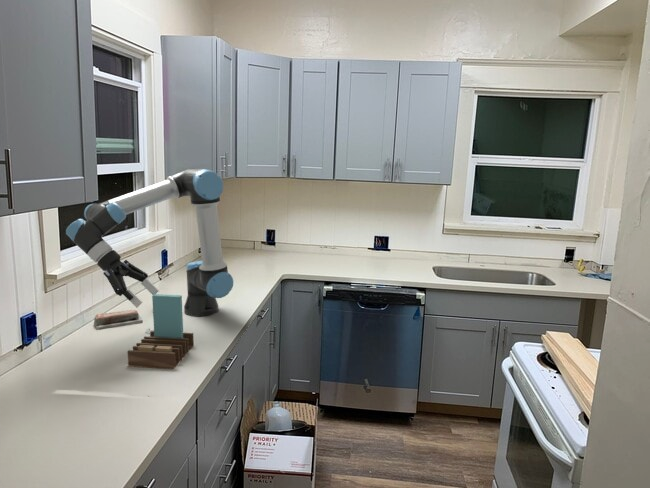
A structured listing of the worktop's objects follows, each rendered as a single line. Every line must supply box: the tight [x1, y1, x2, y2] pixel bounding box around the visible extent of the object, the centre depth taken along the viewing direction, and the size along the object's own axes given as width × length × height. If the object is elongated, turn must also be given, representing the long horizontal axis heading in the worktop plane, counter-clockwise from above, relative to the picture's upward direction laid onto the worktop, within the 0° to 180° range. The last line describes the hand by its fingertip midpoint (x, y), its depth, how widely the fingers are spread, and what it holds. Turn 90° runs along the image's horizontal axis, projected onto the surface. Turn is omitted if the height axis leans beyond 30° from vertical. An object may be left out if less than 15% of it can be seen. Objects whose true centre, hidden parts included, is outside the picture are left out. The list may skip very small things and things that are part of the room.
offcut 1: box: [138, 345, 155, 351], centre depth 160 cm, size 2×5×6 cm, turn 85°
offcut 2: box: [155, 346, 172, 352], centre depth 160 cm, size 2×5×6 cm, turn 86°
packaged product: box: [93, 309, 144, 330], centre depth 200 cm, size 18×5×10 cm
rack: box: [126, 330, 195, 370], centre depth 166 cm, size 19×16×6 cm
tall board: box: [151, 293, 184, 338], centre depth 171 cm, size 2×10×20 cm, turn 86°
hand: (148, 298), depth 170 cm, fingers open, 13 cm apart
